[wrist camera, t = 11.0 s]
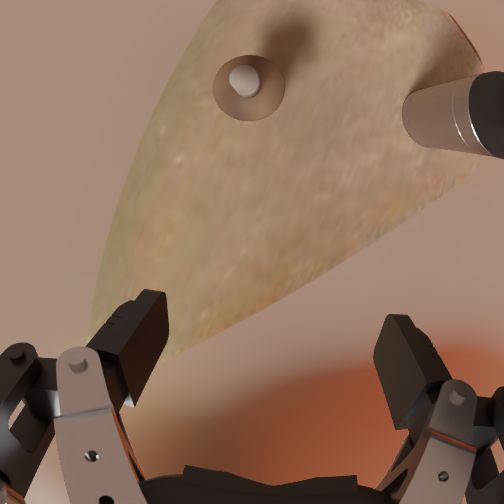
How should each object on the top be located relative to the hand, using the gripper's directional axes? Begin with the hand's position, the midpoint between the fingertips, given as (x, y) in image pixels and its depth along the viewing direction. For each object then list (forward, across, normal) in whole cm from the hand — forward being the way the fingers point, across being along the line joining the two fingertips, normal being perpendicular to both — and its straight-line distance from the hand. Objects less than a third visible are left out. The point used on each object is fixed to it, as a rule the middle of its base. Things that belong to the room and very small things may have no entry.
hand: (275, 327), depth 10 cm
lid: (+24, +4, -12) cm, 27 cm away
